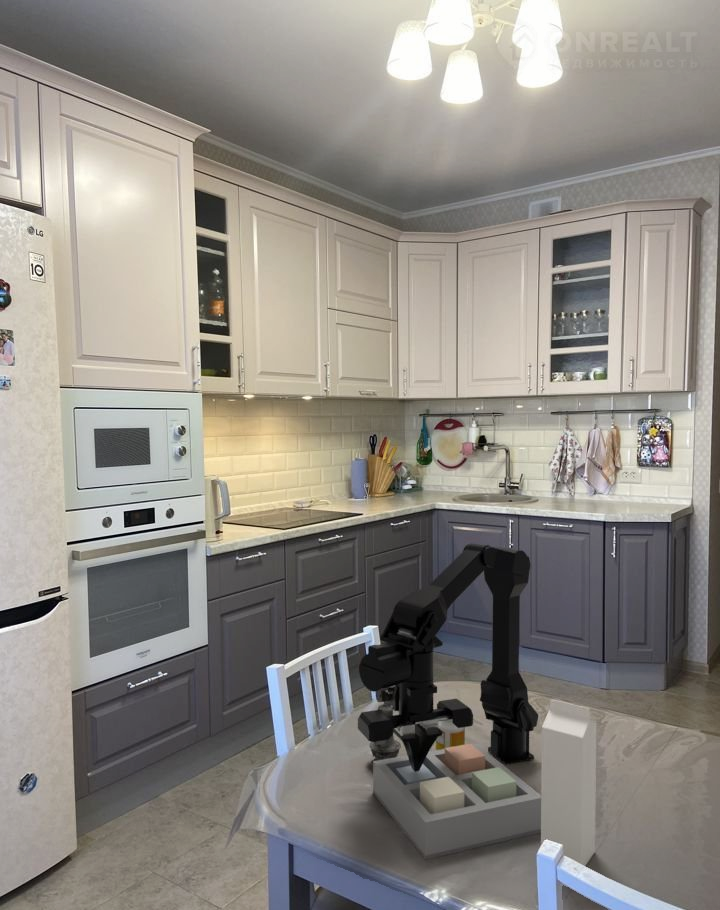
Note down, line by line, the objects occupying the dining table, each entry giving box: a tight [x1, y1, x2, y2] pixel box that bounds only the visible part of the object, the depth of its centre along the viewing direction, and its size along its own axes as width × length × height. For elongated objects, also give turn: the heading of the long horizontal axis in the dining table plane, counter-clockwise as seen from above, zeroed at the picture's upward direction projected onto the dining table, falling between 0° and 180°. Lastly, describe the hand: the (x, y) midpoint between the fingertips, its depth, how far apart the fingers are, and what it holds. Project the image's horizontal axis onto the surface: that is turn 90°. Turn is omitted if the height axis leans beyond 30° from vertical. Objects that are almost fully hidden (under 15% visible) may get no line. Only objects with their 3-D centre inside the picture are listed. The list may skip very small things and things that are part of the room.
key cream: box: [420, 777, 464, 814], centre depth 105 cm, size 5×5×4 cm
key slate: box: [396, 764, 436, 785], centre depth 113 cm, size 5×5×4 cm
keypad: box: [372, 743, 541, 861], centre depth 111 cm, size 20×20×5 cm
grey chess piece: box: [369, 702, 402, 768], centre depth 127 cm, size 6×6×12 cm
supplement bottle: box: [435, 719, 466, 751], centre depth 128 cm, size 5×5×10 cm
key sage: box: [472, 767, 516, 803], centre depth 108 cm, size 5×5×4 cm
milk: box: [540, 699, 597, 866], centre depth 99 cm, size 6×6×22 cm
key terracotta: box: [445, 743, 485, 775], centre depth 117 cm, size 5×5×4 cm
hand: (415, 770), depth 113 cm, fingers closed
